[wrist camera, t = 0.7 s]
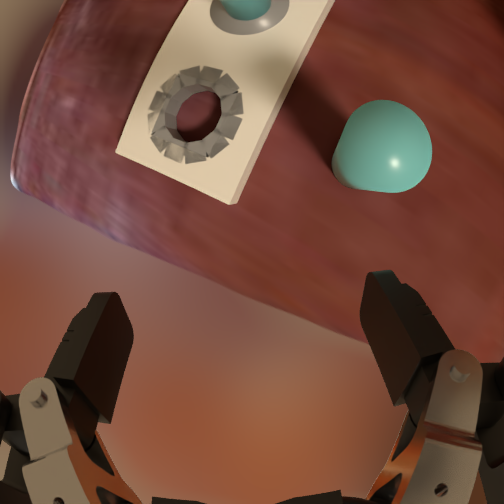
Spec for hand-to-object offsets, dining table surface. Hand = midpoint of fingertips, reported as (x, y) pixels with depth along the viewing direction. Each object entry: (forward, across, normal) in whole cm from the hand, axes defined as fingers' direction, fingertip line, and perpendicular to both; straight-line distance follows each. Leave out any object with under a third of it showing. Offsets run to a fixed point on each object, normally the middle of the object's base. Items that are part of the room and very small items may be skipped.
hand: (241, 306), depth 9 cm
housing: (+25, 0, -10) cm, 27 cm away
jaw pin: (+18, -11, +1) cm, 21 cm away
